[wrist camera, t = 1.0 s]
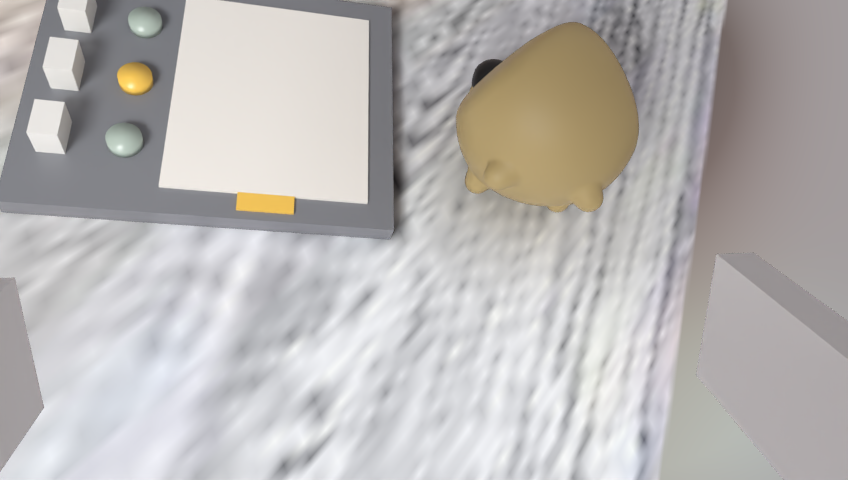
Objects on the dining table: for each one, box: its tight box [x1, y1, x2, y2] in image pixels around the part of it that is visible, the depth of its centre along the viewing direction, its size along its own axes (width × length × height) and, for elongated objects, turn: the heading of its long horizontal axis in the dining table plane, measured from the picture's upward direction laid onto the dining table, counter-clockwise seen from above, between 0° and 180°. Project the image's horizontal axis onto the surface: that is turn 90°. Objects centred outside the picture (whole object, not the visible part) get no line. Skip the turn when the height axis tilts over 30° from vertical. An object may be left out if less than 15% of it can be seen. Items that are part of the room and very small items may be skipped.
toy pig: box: [456, 22, 639, 212], centre depth 41 cm, size 10×12×11 cm
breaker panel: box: [0, 0, 394, 239], centre depth 40 cm, size 16×20×3 cm
